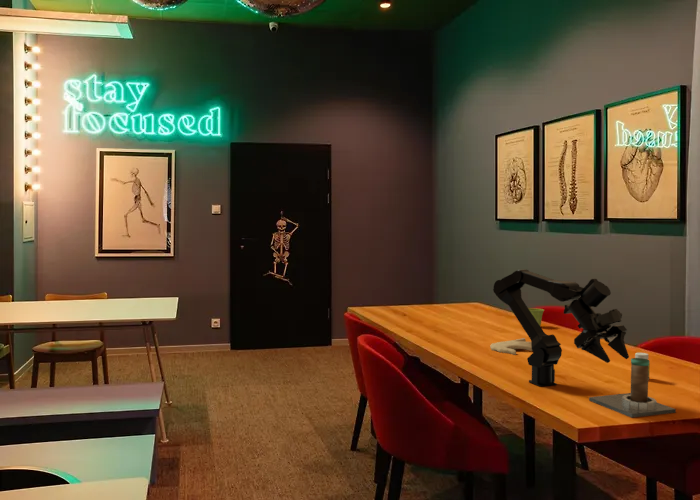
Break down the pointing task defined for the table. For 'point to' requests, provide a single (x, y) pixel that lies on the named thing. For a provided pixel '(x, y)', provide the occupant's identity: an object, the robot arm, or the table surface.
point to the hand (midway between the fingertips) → (618, 360)
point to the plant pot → (537, 314)
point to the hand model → (511, 346)
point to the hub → (632, 405)
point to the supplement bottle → (644, 356)
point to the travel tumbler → (639, 379)
